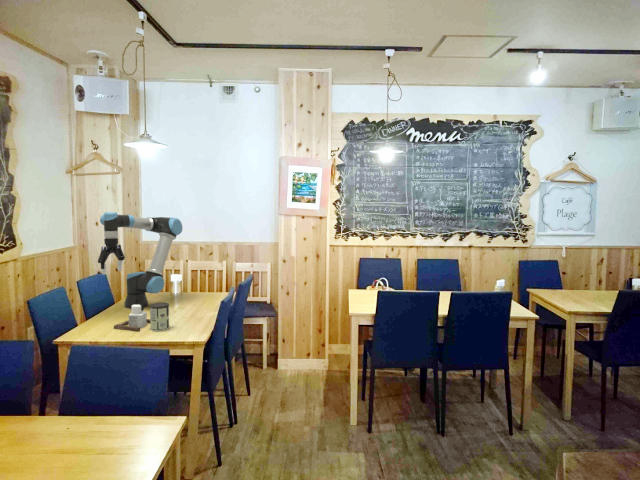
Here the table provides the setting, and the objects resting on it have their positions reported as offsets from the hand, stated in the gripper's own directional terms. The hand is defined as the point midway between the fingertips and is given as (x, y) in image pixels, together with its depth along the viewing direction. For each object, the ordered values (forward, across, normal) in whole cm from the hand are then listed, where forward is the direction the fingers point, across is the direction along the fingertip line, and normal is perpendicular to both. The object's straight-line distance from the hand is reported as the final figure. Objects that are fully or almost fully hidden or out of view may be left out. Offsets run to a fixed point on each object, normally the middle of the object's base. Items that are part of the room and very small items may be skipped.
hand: (112, 272), depth 276 cm
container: (+29, +8, +24) cm, 38 cm away
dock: (+29, +8, +24) cm, 38 cm away
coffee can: (+29, +8, +39) cm, 49 cm away
